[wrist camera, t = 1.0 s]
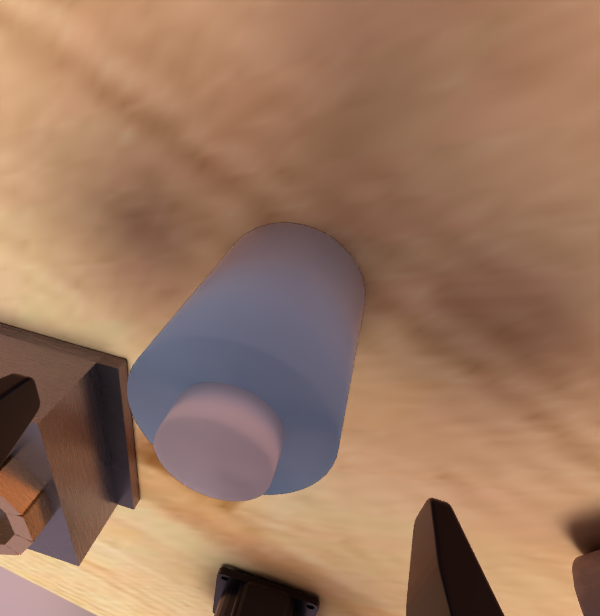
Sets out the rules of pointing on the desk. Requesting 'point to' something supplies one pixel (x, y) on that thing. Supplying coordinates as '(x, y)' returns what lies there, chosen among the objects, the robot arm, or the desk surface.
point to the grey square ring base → (66, 448)
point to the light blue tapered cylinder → (255, 367)
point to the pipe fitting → (588, 582)
